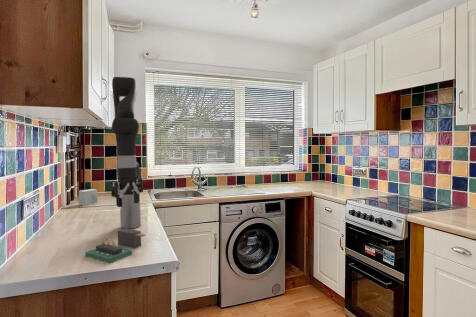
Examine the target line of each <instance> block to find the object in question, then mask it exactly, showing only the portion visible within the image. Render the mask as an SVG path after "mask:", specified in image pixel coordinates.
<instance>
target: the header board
mask: <svg viewBox="0 0 476 317" xmlns="http://www.w3.org/2000/svg"><path fill="white" fill-rule="evenodd" d="M111 242H112V243H111ZM132 254H133V250H132V249H130V248H125V247H121V246H116V240H111V239H107V240H106V238H104V237H102V238H101V244H98V245H95V248H94V249H91V250H87V251H85V254H84V256H85V257H88V258H90V257H91V258H90V259H94V260H97V259H98V261H101V262H104V261H105V263H109V264H110V263H113V262H116V261H119V260H120V259H123V258H124V257H128V256H129V255H132Z"/></svg>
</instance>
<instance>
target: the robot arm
mask: <svg viewBox="0 0 476 317" xmlns="http://www.w3.org/2000/svg"><path fill="white" fill-rule="evenodd" d="M111 86H112V87H111V89H112V96H113V106H114V119H113V120H112V122H111V123H112V124H111V131H112V133H113V134H114V135H115V142H116V143H115V144H116V174H117V175H116V176H117V178H118V181H112V182H111V185H110V186H111V187H110V188H111V190H110V191H111V194H110V195H111V198H112V197H113V198H115V202H116V203H115V204H116V206H117V207H118V208H120V209H119V211H120V212H119V214H120V227H122V229H124V228H126V229H134V228H135V229H136V228H140V226H141V225H142V224H141V223H142V221H141V220H142V218H141V215H142V214H141V213H142V212H141V193H143V192H144V188H143V187H144V186H143V184H144V183H143V178H140V172H141V169H140V163H139V162H138V161H137V157H136V145H137V137H138V135H139V134H138V133H139V130H140V122H139V121H138V119H137V118H135V103H136V100H137V92H138V89H137V87H138V86H137V80H136V79H135V78H134V77H127V76H126V77H125V76H114V77H112V80H111ZM121 97H123V98H122V99H121Z"/></svg>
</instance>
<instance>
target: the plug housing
mask: <svg viewBox="0 0 476 317" xmlns="http://www.w3.org/2000/svg"><path fill="white" fill-rule="evenodd" d="M145 236H146V234H145V233H142V232H141V230H136V229H133V228H122V229H117V245H119V246H123V247H128V248H133V249H135V248H138V247H141V246H142V237H145Z"/></svg>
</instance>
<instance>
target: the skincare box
mask: <svg viewBox="0 0 476 317" xmlns="http://www.w3.org/2000/svg"><path fill="white" fill-rule="evenodd" d="M98 198H99V197H98V189H96V188H95V189H94V188H90V189H82V190H81V189H80V190H78V200H79V201H78V202H79V203H78V204H80V205H79V206H81V205H87V206H90V205H89V204H94V205H96V204H95V203H98V200H99V199H98Z"/></svg>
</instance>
